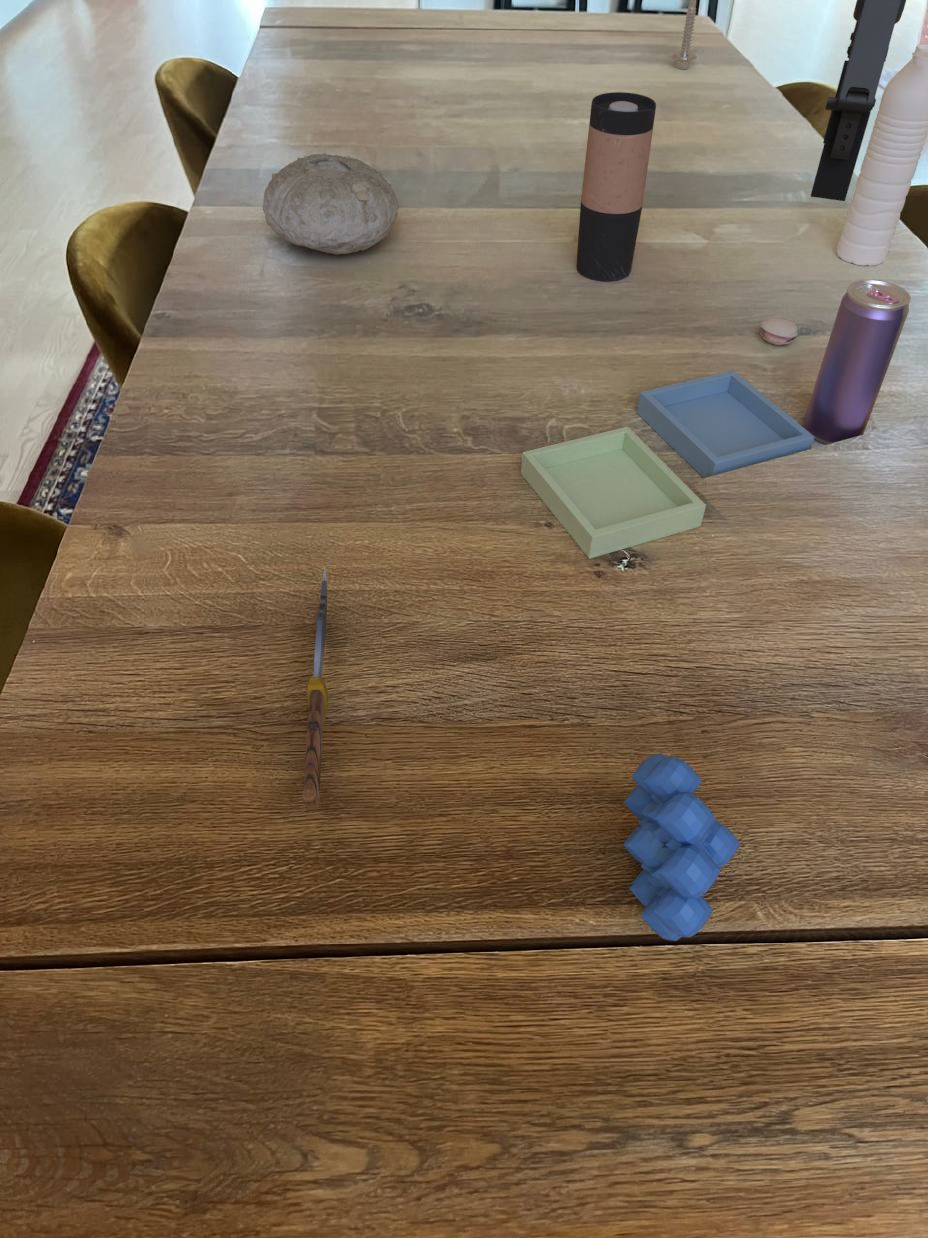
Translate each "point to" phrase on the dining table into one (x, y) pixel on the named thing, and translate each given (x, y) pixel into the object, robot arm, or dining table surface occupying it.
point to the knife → (316, 709)
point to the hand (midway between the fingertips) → (833, 169)
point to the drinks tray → (721, 423)
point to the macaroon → (778, 331)
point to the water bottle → (888, 165)
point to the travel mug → (614, 183)
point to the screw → (686, 40)
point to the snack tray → (611, 491)
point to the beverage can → (856, 359)
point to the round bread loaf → (330, 204)
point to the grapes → (674, 847)
